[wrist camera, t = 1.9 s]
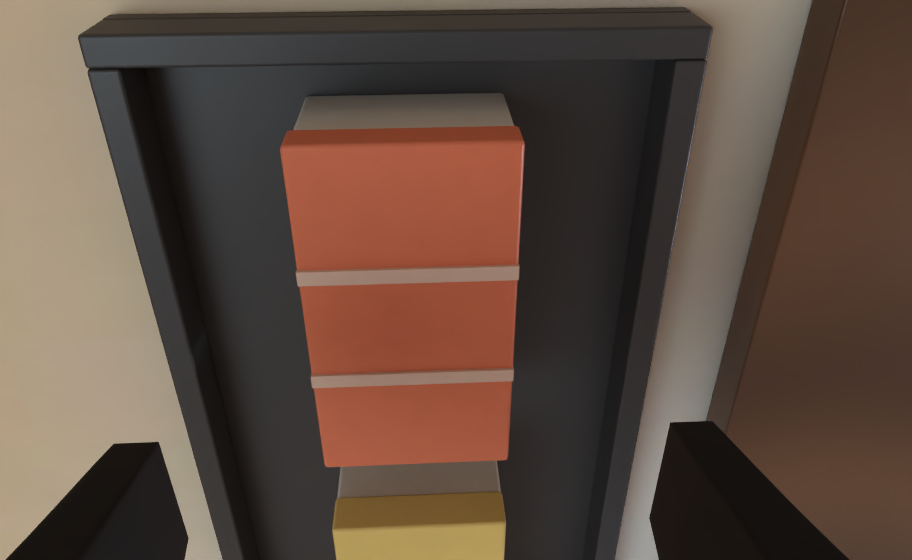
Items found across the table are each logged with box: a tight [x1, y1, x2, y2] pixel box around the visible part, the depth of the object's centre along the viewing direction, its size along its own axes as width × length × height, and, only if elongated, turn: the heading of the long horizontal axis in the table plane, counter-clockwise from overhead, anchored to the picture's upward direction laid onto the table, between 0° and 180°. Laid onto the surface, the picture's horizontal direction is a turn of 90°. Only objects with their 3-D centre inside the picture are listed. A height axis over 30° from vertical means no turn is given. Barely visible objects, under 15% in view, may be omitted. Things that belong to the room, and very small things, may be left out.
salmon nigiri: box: [280, 93, 525, 467], centre depth 15 cm, size 7×4×3 cm, turn 0°
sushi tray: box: [78, 7, 713, 560], centre depth 18 cm, size 19×11×2 cm, turn 0°
